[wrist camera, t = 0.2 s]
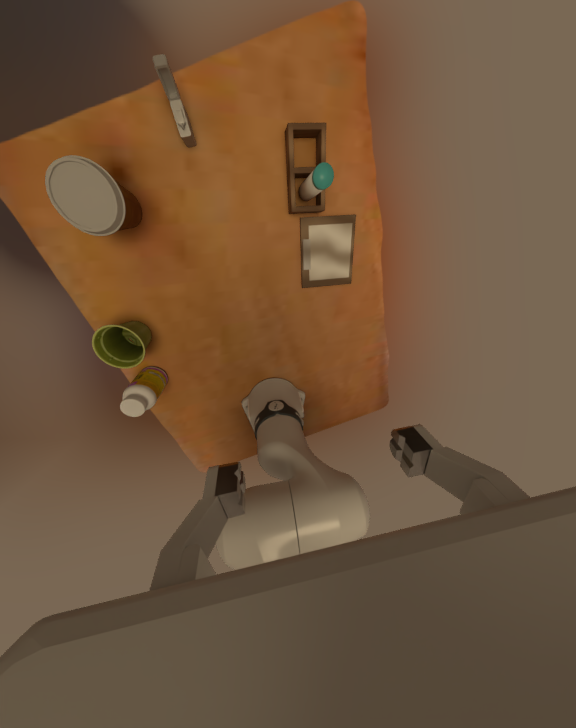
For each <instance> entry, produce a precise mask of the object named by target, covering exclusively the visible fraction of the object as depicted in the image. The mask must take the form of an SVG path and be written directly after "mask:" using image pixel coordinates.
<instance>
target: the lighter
mask: <svg viewBox="0 0 576 728" xmlns="http://www.w3.org/2000/svg"><path fill="white" fill-rule="evenodd" d="M153 61H154V65H155V68H156V71H157V73H158V76H159V78H160V81H161V83H162V85H163V88H164V90H165V92H166V95H167V97H168V99H169V101H170V105H171V108H172V111H173V114H174V118H175V121H176V124H177V127H178V130H179V133H180V136H181V138H182V139H183V141H184V143H185V144H186V146H187V147H193V146H196V141H195V138H194V134H193V131H192V128H191V124H190V121H189V117H188V114H187V112H186V110H185V108H184V106H183V104H182V101H181V100H180V95H179V92H178V88H177V85H176V83H175V80H174V77H173V75H172V72H171V69H170V67H169V64H168V61H167V58H166V56H165V55H164V54H162V55H157V56H153Z"/></svg>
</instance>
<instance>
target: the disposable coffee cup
mask: <svg viewBox="0 0 576 728" xmlns="http://www.w3.org/2000/svg"><path fill="white" fill-rule="evenodd" d="M45 185H46V190H47V193H48V196H49V198H50V200H51V203H52V204H53V205H54V207H55V208H56V210H57V211H58V212H59V214H60V215H62V216H63V217H64V218H65V219H66V220H67V221H68V222H69V223H71V224H72V225H73V226H74V227H76V228H78V229H79V230H81V231H83V232H85V233H88V234H91V235H96V236H105V235H110V234H113V233H114V232H116V231H117V230H123V229H128V228H133V227H136V226H137V225H138V224H139V223H140V221H141V219H142V209H141V206H140V204H139V202H138V200H137V199H136V197H135V196H134V195H133V194H132V193H130V192H129V191H128V190H126V189H125V188H124V187H123V186H121V185H120V184H119V183H118V182H116V181H115V180H114V179H113V178H112V176H111V175H110V174H109V173H108V172H107V171H106V170H105V169H103V168H102V167H101V166H100V165H98V164H97V163H95V162H93V161H91V160H89V159H87V158H84V157H81V156H73V155H70V156H64V157H62V158H59V159H57V160H55V161H53V163H52V164H51V165H50V166H49V167H48V169H47V172H46V176H45Z"/></svg>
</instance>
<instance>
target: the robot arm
mask: <svg viewBox="0 0 576 728" xmlns="http://www.w3.org/2000/svg"><path fill="white" fill-rule="evenodd" d="M304 400H305V393H304V392H303V391H301V390H299V389H297V388H295V387H294V385H293V384H291V383H290V382H289V381H287V380H284V379H280V378H271V379H267V380H264V381H262V382H260V383H258V384H257V385H256V386H255V387H254V388H253V389H252V391H251V393H250V394H249V396H247V397H246V398H245V399H243V400H242V406H243V409H244V411H245V413H246V415H247V417H248V419H249V422H250V424H251V426H252V428H253V430H254V432H255V437H256V440H257V452H258V461H259V464H260V466H261V467H262V468H263V469H264V471H266V472H267V473H268V474H269V475H270V476H272V477H275V478H278V479H281V480H283V481H281V482H275V483H270V484H264V485H259V486H254V487H250V488H248V489H245V477H244V473H243V471H241V464H240V462H234V463H228V464H223V465H218V466H212V467H209V469H208V471H207V477H206V482H205V488H204V493H203V499H201V500H199V501H198V502H197V504H196V505H195V506H194V508H193V509H192V510H191V512H190V513H189V514H188V516H187V517H186V518H185V520H184V521H183V522H182V524H181V525H180V526H179V528H178V529H177V530H176V532H175V533H174V534H173V536H172V537H171V539H170V540H169V541H168V542H167V544H166V545H165V546H164V548H163V549H162V550H161V552H160V556H159V559H158V563H157V566H156V569H155V573H154V577H153V580H152V584H151V587H150V591H148V592H144V593H140V594H136V595H132V596H127V597H123V598H119V599H115V600H112V601H107V602H103V603H99V604H95V605H91V606H87V607H83V608H79V609H75V610H71V611H66V612H62V613H58V614H54V615H51V616H48V617H45V618H43V619H41V620H39V621H38V622H36V623H35V624H34V625H33V626H31V627H30V628H29V629H28V630H27V631H26V632H25V633H24V634H23V635H22V636H21V637H20V638H19V639H18V640H17V641H16V642H15V643H14V644H13V645H12V646H11V647H10V648H9V649H8V650H7V651H6V652H5V653H4V654H3V655H2V656H1V657H0V728H576V487H572V488H568V489H564V490H559V491H556V492H551V493H547V494H543V495H539V496H535V497H531V498H530V497H529V496H528V495H527V494H526V493H525V492H524V491H522V489H520V488H519V487H518V486H517V485H516V484H515V483H514V482H513V481H512V480H510V479H509V478H508V477H507V476H506V475H505V474H504V473H503V472H500V471H498V470H496V469H494V468H492V467H490V466H487V465H485V464H483V463H481V462H479V461H477V460H474V459H472V458H470V457H468V456H466V455H464V454H461V453H459V452H457V451H455V450H453V449H450V448H448V447H443V446H442V445H441V444H440V443H439V442H438V441H437V440H436V439H435V438H434V437H433V436H432V435H431V434H430V433H429V432H428V431H427V430H426V429H425V428H424V427H423V426H422V425H420V424H418V425H413V426H408V427H403V428H398V429H394V430H392V432H391V436H392V437H393V438H392V439H391V440H390V450H391V452H392V455H393V456H394V458H395V459H397V460H398V461H400V462H401V464H400V466H401V468H402V469H403V471H404V472H405V473H406V475H407V476H408V477H413V476H418V475H423V474H424V475H425V476H426V477H428V478H429V479H431V480H432V481H434V482H435V483H436V484H438V485H439V486H441V487H442V488H444V489H445V490H446V491H448V492H449V493H451V494H453V495H454V496H455V497H457V498H458V499H460V500H461V501H463V505H462V507H461V509H460V514H461V515H458V516H453V517H449V518H446V519H442V520H437V521H434V522H430V523H425V524H421V525H417V526H413V527H409V528H405V529H400V530H396V531H393V532H389V533H384V534H380V535H376V536H372V537H368V538H364V539H360V540H357V539H359V538H361V537H362V536H364V535H365V534H366V532H367V529H368V525H369V520H370V510H369V504H368V500H367V497H366V495H365V493H364V491H363V489H362V488H361V486H360V485H359V483H358V482H357V481H356V480H355V479H354V478H353V477H351V476H350V475H348V474H346V473H342V472H340V471H337V470H335V469H333V468H331V467H329V466H328V465H326V464H325V463H323V462H322V461H321V460H319V459H318V458H317V457H316V456H315V455H314V454H313V453H312V451H311V450H310V449H309V447H308V444H307V442H306V440H305V437H304V434H303V424H304V422H303V419H301V418H304V413H303V412H304V409H303V405H304ZM247 406H248V407H247ZM215 544H216V548H217V550H218V553H219V555H220V556H221V558H222V560H223V561H224V562H225V563H226V564H227V565H228V566H229V567H231V568H233V569H234V571H230V572H226V573H221V574H217V575H216V572H215V571H214V569H213V567H212V566H211V564H210V562H209V561H208V557H209V555H210V553H211V551H212V549H213V547H214V545H215Z"/></svg>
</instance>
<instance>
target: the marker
mask: <svg viewBox="0 0 576 728" xmlns="http://www.w3.org/2000/svg"><path fill="white" fill-rule="evenodd" d="M333 178H334V172H333V169H332V167H331V166H330V165H329V164H328V163H325V162H323V163H320V164H319V165H317V167H316V168H315V169H314V171H313V172H312V173H311V174H310V175H309V176H308V177H307V178H306V180H305V181H304V182H303V183H302V184H301V185H300V187H299V196H300V198H301V199H302V200H304V201H309V200H310V199H312V198H313V197H315V196H316V195H317V194H319V193H320V192H321V191H323V190H324V189H326V188H328V187H329V186H330V185H331V183H332V181H333Z"/></svg>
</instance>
